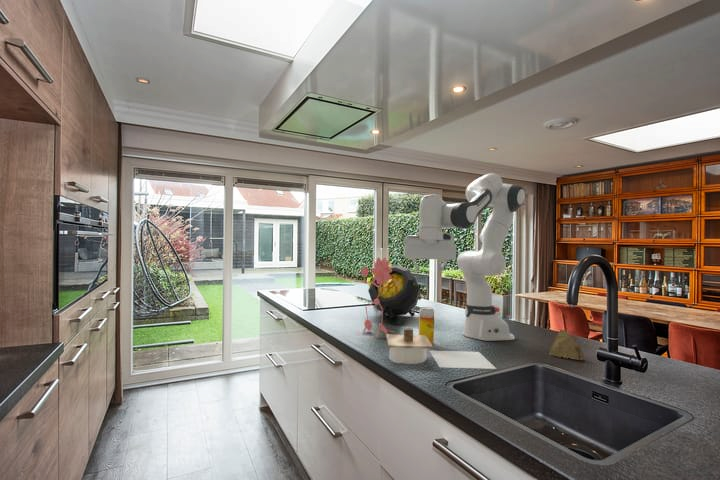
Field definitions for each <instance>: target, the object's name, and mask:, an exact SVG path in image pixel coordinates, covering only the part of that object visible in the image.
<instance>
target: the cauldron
mask: <svg viewBox="0 0 720 480" xmlns="http://www.w3.org/2000/svg"><path fill="white" fill-rule="evenodd" d="M390 267H391V269H392V272H391V273H389V274H390V276H391V277H392V278H393V280H394V281H395V282H396V283H397V284H398V285H399V287H398V286H397V285H396V284H395V283H394V282H393V281H392V280H391V278H390V279H387V283H386V284H384V283H382V282H381V283H382V285H381V286H380V284H381V283H380V284H377V280H375V281H374V283H375V284H376V285H378V286H380V288H378V287H377V286H376V285H374V284H372V283H369V284H370V285H369V287H368V294H369V296H370V300H371V302H372V303H374V300H375V299H377V297H378V293H379V289H381V290H380V293H379V297H378V300H379V301H380V305H381V307H382V309H383V317H382V318H383V319H386V320H388V321H389V320H391V319H393V318H395V317H401V316H404V315H407V314H409V316H410V317H415V315H416V314H415V311H413V310H412V309H414V308H415V307H416V306H417V305H418V302H419V300H422V295H420V294H421V290H420V289H421V287H420V286H419V283H418V282H417V279H416V278H415V275H413V274H412V270H411V268H409V267H403V266H401V265H397V264H396V265H392V266H390ZM373 280H374V276H373V277H372V279H371V282H372V281H373ZM380 305H379V304H378V305H375V307H376V309H377V310H378V311H380V312H382V309H381V307H380Z"/></svg>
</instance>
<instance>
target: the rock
mask: <svg viewBox="0 0 720 480" xmlns="http://www.w3.org/2000/svg"><path fill="white" fill-rule="evenodd" d="M548 355H549V356H553V357H556V356H557V357H556V358H561V357H563V358H562V359H568V358H570V360H577V361H584V360H585V357H584V353H583V351H582V349H581V347H580V345H579V344H578V343H577V342H576V340H575V339H574V338H573V337H572V335H570V333H568V331H567V330H565V329H562V328H561V329H560V331H559V332H558V333H557V334H556V336H555V338H554V341H553V343H552V344H551V347H550V350H549V353H548Z"/></svg>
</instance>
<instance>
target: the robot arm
mask: <svg viewBox="0 0 720 480" xmlns="http://www.w3.org/2000/svg"><path fill="white" fill-rule="evenodd" d="M526 195H527V194H526V191H525V188H524V187H523V186H521V185H519V184H512V183H511V184H509V183H503V179H502V178H501V176H500V175H499V174H497V173H495V172H490V173H486V174H484V175H481V176H479V177H478V178H476V179H475V180H473V181H472V182H470V183H469V184H468V186H467V187H466V188H465V198H466V200H467V201H464V202H463V201H462V202H456V203H447V202H446V201H444V200H443V198H442V196H441V194H438V193H435V194H426V195H423V196H422V197H421V199H420V202H419V208H418V218H419V225H418V234H414V235H413V234H412V235H411V234H407V235H405V236H404V237H403V239H402V244H403V256H402V257H403V258H404V259H411V260H412V261H411V262H412V263H413V266H414V271H417V272H420V265H417V263H416V262H417V260H418V259H419V260H441V262H442V264H441V266H438V271H439V272H444V267H445V266H446V265H447V262H448V260H451V261H453V260H455V259H456V258H457V259H456V266H457V268H458V269H459V271H461V274H462V275H463V277H464V281H465V285H466V303H465V310H464V311H465V312H464V313H465V320H464V327H463V330H462V333H461V334H462V335H463V336H465V337H468V338H471V339H475V340H476V339H477V340H480V341H485V342H486V341H487V342H489V341H491V342H492V341H515V340H516V339H515V337H516V336H515V334H513V333H511V332H510V329H509V323H507V322H506V321H505V320H503V319H502V318H501V317H500V316H499V315H498V314H497V313H499V312H500V308H499V307H498V306H494V305H493V289H492V286H491V285H490V284H489V283H488V282H487V279H486V276H488V277H492V276H499V275H501V274H503V273H504V271H505V269H506V266H507V262H506V258H505V257H504V255H503V245H504V243H505V241H506V238H507V236H508V234H509V231H510V229H511V227H512V223H513V220H514V212H517V211H518V209H520V208H521V207H522V206H523V205H524V203H525V200H526ZM487 207H491V208H493V209H492V212H491V213H490V214H489V216H488V217H487V219H486V221H485V223H484V225H483V227H482V229H481V232H480V234H479V235H478V236H479V237H478V238H479V240H480V242H481V248H480V250H465V251H463V252H461V253H459V254H458V256H457V248H456V243H455V242H454V241H453V240H455V239H454V238H455V237H454V235H453V234H451V233H447V232H444V231H443V229H465V230H466V229H470V228H471V227H472V226H473V225H474V224H475V222H476V220H477V219H478V217H479V215H480V214H481V213H483V212H484V210H485V209H486V208H487Z"/></svg>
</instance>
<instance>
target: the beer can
mask: <svg viewBox="0 0 720 480" xmlns="http://www.w3.org/2000/svg"><path fill="white" fill-rule="evenodd" d="M418 312H419V315H418V317H419V318H418V335H426V337H427V338H428V340H429V341H430V343H431V344H432V345H433V344H434V343H435V342H434V340H435V339H434V337H435V335H434V333H435V310H434V308H433V307H430V306H422V307H420V308H419V311H418Z"/></svg>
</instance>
